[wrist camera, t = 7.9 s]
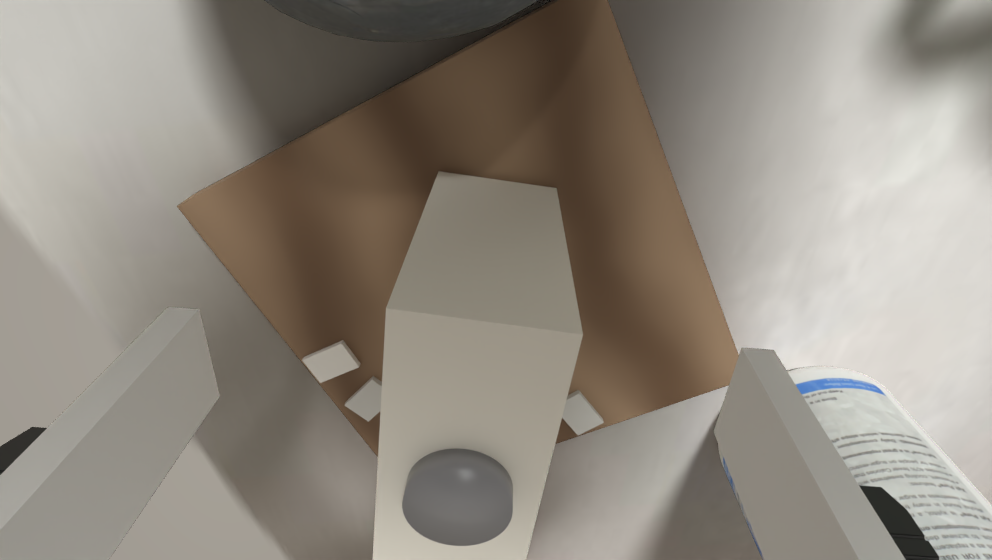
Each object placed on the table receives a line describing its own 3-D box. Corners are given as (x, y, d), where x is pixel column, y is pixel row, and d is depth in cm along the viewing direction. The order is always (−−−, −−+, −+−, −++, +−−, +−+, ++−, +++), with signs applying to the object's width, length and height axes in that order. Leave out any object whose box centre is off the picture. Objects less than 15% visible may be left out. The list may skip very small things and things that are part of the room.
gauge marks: (520, 264, 26) (520, 267, 26) (604, 422, 31) (605, 426, 30) (304, 356, 29) (302, 360, 29) (409, 489, 34) (408, 493, 33)
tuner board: (594, -22, 22) (600, -22, 21) (737, 360, 30) (748, 380, 29) (193, 194, 27) (174, 207, 25) (411, 474, 35) (407, 496, 34)
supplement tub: (679, 443, 33) (782, 745, 20) (801, 327, 29) (1027, 612, 16) (801, 507, 35) (964, 817, 23) (931, 408, 31) (1220, 715, 19)
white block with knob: (438, 171, 24) (379, 325, 14) (556, 188, 24) (586, 353, 14) (412, 447, 32) (362, 681, 21) (503, 458, 32) (496, 696, 21)
